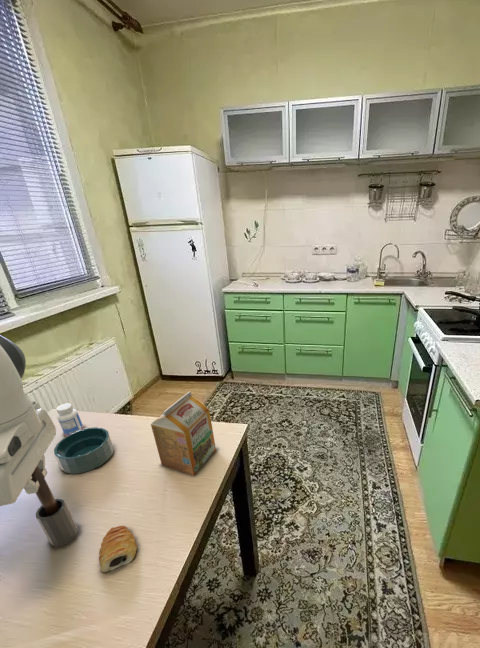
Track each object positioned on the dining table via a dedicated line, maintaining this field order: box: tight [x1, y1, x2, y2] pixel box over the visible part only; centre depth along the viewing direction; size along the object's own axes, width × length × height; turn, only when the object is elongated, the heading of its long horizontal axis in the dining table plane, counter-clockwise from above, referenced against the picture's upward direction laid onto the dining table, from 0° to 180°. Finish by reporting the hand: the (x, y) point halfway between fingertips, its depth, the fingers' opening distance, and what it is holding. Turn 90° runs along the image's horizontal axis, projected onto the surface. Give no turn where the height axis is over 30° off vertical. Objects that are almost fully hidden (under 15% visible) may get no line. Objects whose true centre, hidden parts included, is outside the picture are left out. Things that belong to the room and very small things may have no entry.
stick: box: [31, 465, 60, 516], centre depth 65 cm, size 2×2×18 cm
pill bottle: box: [55, 402, 85, 437], centre depth 101 cm, size 6×5×10 cm
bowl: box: [53, 426, 115, 475], centre depth 91 cm, size 13×13×6 cm
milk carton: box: [150, 391, 217, 476], centre depth 87 cm, size 11×10×19 cm
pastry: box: [98, 525, 138, 573], centre depth 66 cm, size 9×7×4 cm
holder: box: [35, 498, 79, 548], centre depth 68 cm, size 5×5×9 cm
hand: (38, 483), depth 63 cm, fingers closed on stick, 2 cm apart
